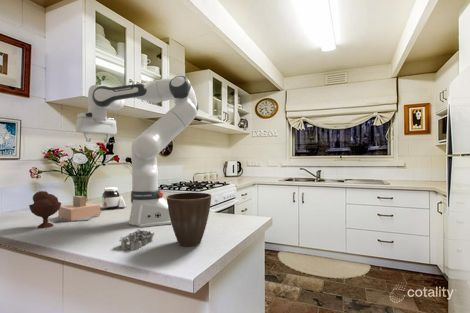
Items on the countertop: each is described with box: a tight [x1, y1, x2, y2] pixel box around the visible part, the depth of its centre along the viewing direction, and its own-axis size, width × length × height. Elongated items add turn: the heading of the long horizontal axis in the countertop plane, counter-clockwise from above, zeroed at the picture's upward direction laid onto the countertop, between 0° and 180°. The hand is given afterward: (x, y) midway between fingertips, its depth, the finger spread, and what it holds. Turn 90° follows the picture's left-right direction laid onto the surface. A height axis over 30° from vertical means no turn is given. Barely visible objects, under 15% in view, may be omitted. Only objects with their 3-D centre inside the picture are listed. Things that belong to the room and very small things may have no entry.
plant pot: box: [165, 192, 212, 248], centre depth 86 cm, size 15×15×16 cm
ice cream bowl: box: [28, 190, 62, 229], centre depth 107 cm, size 11×11×15 cm
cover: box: [57, 195, 101, 221], centre depth 124 cm, size 13×13×10 cm
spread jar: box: [101, 186, 127, 211], centre depth 145 cm, size 12×11×12 cm
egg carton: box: [118, 229, 155, 251], centre depth 85 cm, size 11×8×4 cm
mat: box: [53, 211, 102, 223], centre depth 124 cm, size 14×18×1 cm
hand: (97, 142), depth 135 cm, fingers open, 8 cm apart
